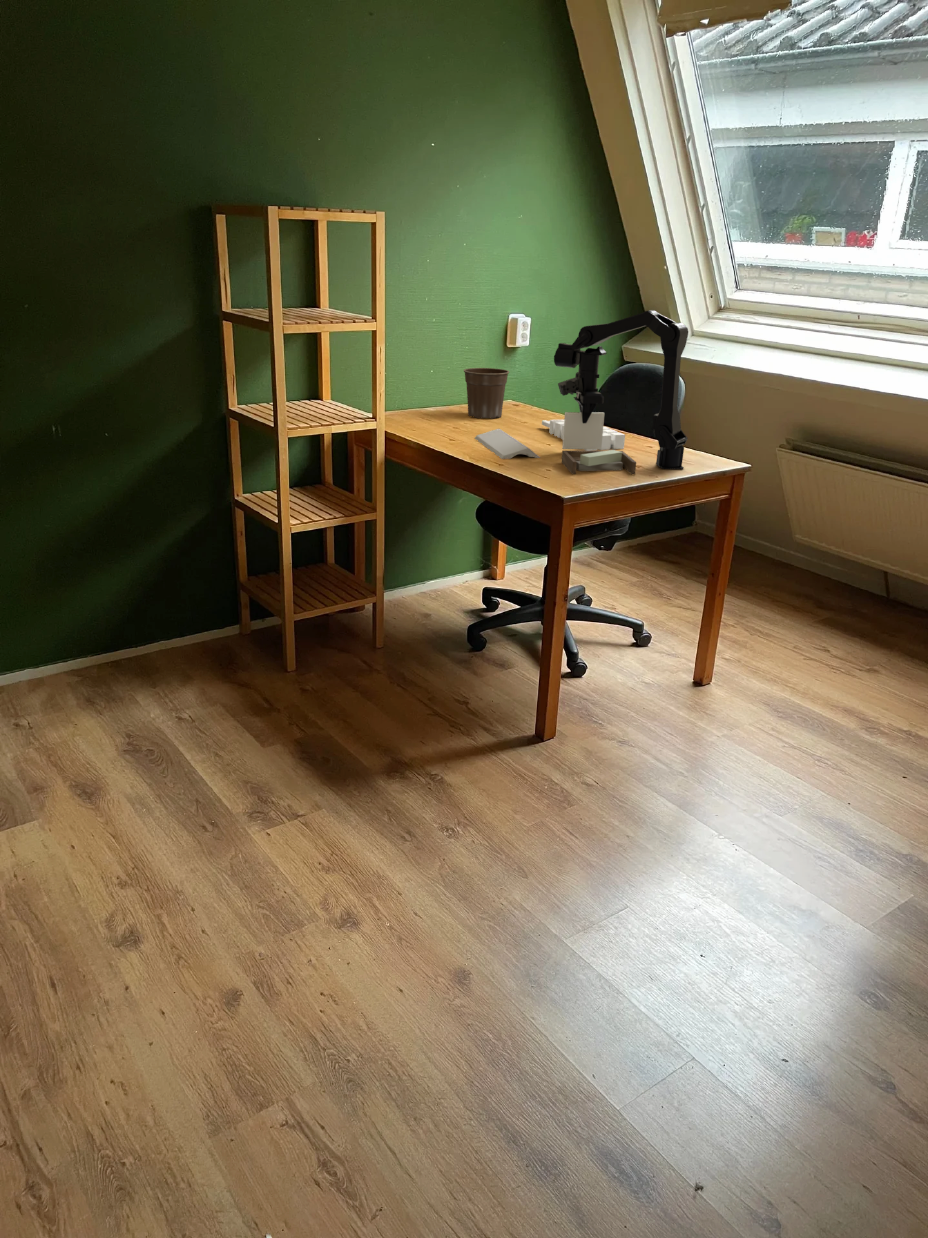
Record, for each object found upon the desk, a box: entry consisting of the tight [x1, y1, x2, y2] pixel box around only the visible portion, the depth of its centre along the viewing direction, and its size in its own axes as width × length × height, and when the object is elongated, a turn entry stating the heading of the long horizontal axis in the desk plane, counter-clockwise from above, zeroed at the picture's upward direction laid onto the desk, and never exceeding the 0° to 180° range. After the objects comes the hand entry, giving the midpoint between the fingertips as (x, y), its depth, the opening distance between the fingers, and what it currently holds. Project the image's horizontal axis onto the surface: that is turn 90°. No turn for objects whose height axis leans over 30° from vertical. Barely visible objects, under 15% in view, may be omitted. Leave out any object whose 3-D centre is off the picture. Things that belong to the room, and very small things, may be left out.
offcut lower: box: [576, 461, 624, 472], centre depth 257 cm, size 13×4×2 cm, turn 102°
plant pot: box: [463, 367, 510, 419], centre depth 324 cm, size 16×16×16 cm
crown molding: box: [474, 428, 541, 460], centre depth 279 cm, size 29×12×4 cm, turn 16°
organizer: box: [541, 419, 626, 451], centre depth 296 cm, size 13×5×35 cm
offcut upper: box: [580, 449, 622, 466], centre depth 256 cm, size 13×4×2 cm, turn 127°
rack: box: [561, 449, 637, 475], centre depth 258 cm, size 18×14×4 cm
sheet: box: [562, 411, 605, 450], centre depth 274 cm, size 12×1×11 cm, turn 96°
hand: (583, 422), depth 273 cm, fingers closed on sheet, 1 cm apart
